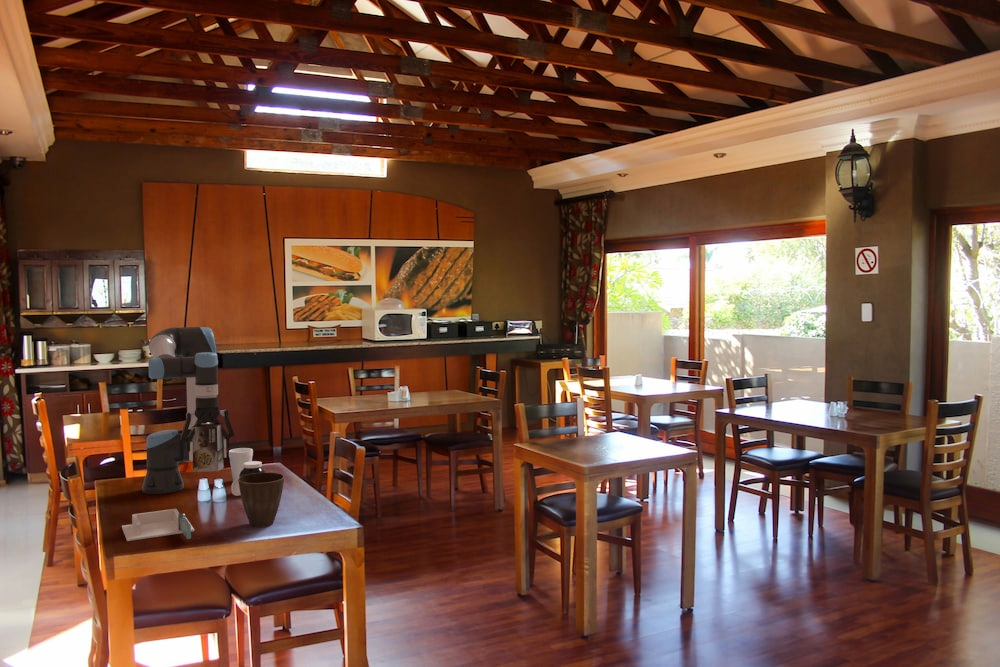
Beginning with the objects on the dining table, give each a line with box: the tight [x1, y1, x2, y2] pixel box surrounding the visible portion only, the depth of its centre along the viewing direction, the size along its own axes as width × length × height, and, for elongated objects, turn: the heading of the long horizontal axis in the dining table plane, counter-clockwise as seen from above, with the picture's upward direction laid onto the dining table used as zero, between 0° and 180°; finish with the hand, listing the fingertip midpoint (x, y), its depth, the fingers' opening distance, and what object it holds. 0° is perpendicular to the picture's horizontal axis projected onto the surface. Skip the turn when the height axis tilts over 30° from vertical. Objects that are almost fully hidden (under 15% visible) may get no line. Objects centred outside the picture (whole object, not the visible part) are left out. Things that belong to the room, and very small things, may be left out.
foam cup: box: [228, 447, 254, 482], centre depth 320 cm, size 10×9×13 cm
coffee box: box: [191, 422, 225, 473], centre depth 271 cm, size 9×6×16 cm
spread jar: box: [230, 460, 267, 497], centre depth 301 cm, size 12×11×12 cm
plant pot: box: [238, 472, 285, 528], centre depth 260 cm, size 15×15×16 cm
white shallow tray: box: [121, 508, 195, 542], centre depth 254 cm, size 17×20×4 cm
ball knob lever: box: [178, 512, 192, 540], centre depth 246 cm, size 15×2×5 cm, turn 31°
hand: (207, 458), depth 271 cm, fingers closed on coffee box, 10 cm apart
